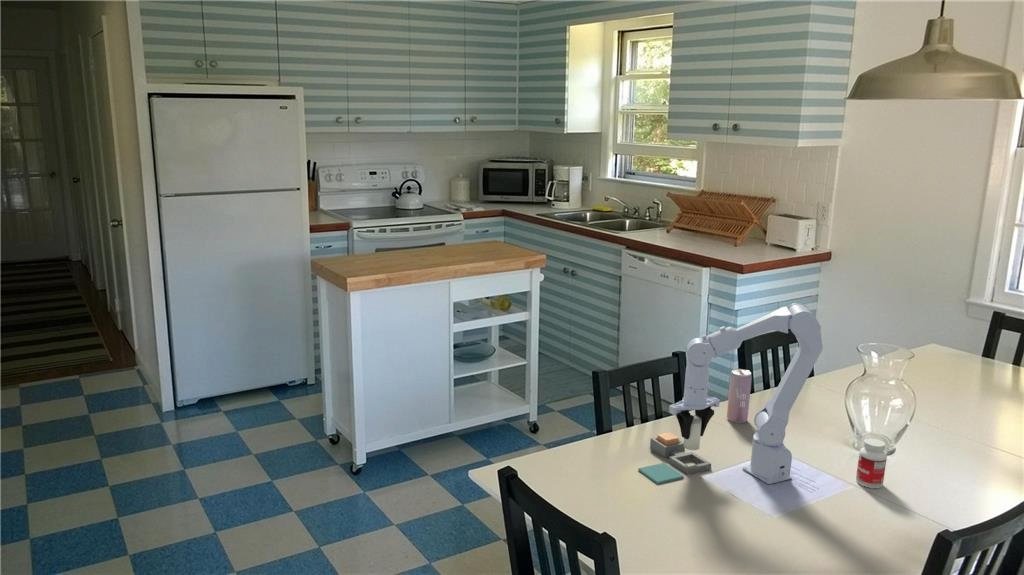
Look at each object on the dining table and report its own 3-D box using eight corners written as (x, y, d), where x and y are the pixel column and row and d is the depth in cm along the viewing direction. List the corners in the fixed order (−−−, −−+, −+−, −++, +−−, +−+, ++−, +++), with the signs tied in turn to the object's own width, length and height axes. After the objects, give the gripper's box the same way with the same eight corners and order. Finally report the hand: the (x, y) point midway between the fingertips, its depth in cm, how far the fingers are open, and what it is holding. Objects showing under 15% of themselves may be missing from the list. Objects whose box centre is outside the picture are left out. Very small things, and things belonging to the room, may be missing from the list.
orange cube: (677, 451, 207) (678, 437, 206) (665, 454, 205) (666, 440, 204) (668, 446, 210) (669, 432, 209) (656, 448, 208) (657, 434, 208)
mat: (683, 478, 192) (683, 475, 192) (657, 484, 189) (657, 481, 189) (663, 464, 199) (664, 462, 199) (638, 470, 196) (638, 468, 196)
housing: (710, 469, 198) (711, 458, 197) (687, 474, 194) (688, 463, 194) (670, 444, 212) (671, 433, 211) (648, 448, 209) (649, 438, 208)
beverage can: (745, 416, 233) (749, 369, 230) (749, 424, 227) (753, 375, 224) (725, 415, 233) (729, 368, 230) (728, 423, 228) (732, 374, 224)
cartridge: (702, 448, 197) (705, 419, 195) (690, 451, 196) (692, 421, 194) (692, 442, 201) (694, 413, 199) (680, 445, 199) (682, 416, 197)
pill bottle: (850, 478, 195) (856, 437, 192) (873, 477, 195) (879, 436, 193) (864, 489, 189) (869, 447, 186) (887, 489, 189) (893, 447, 187)
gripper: (708, 377, 201) (704, 426, 204) (663, 384, 195) (659, 434, 198) (726, 385, 195) (722, 436, 198) (680, 393, 189) (677, 445, 192)
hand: (692, 436), depth 197 cm, fingers closed on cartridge, 4 cm apart
